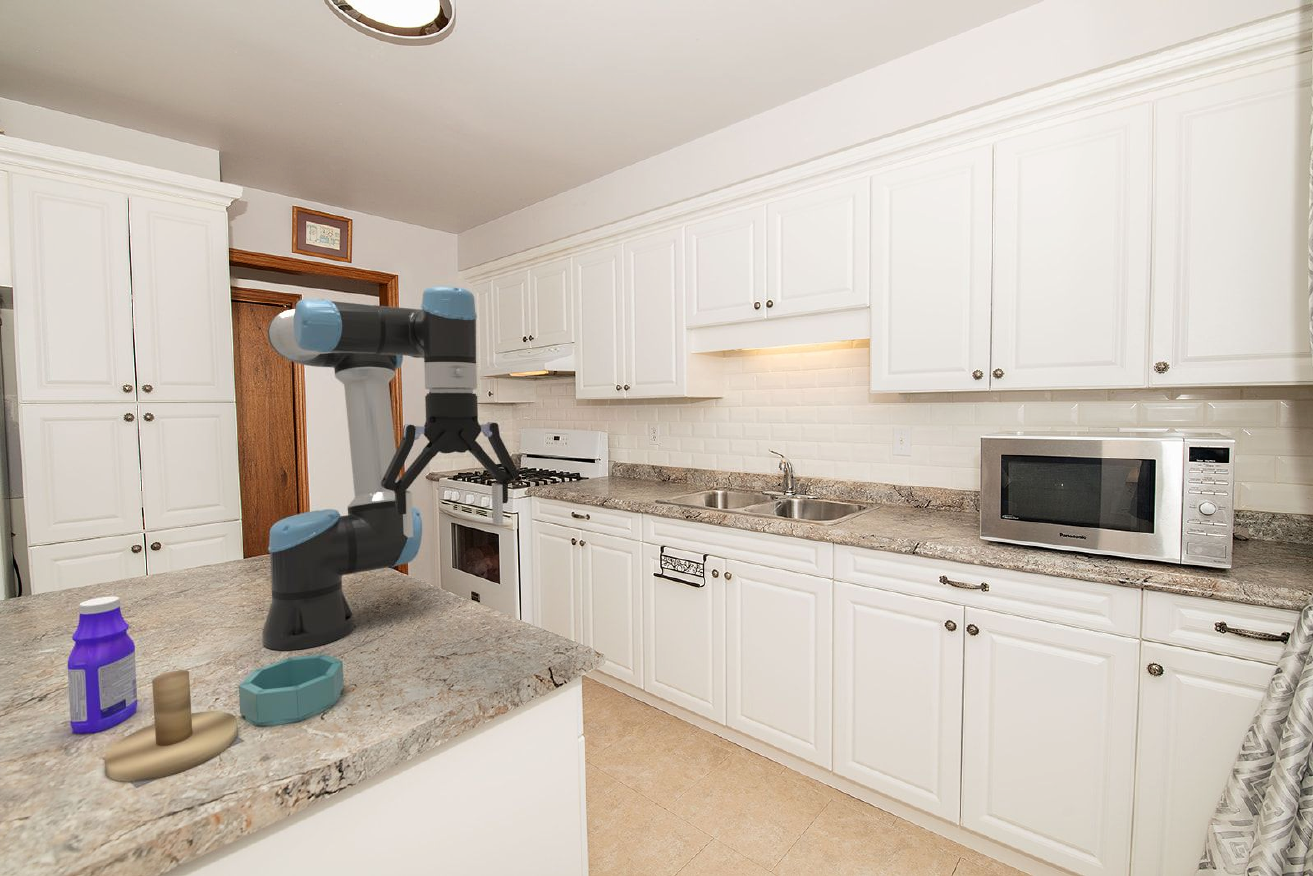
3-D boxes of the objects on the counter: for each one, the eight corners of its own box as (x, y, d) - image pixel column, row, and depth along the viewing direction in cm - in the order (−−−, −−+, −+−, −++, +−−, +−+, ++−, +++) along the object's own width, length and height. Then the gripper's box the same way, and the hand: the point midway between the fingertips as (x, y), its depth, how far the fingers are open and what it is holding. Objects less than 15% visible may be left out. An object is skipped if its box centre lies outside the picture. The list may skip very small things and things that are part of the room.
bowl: (228, 713, 84) (226, 679, 84) (313, 680, 95) (312, 649, 94) (271, 737, 78) (269, 700, 78) (357, 698, 88) (356, 666, 88)
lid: (89, 760, 73) (83, 685, 72) (211, 712, 84) (207, 647, 83) (129, 795, 66) (123, 713, 66) (256, 739, 77) (253, 668, 77)
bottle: (106, 710, 86) (98, 593, 85) (148, 708, 86) (141, 591, 85) (60, 739, 78) (51, 610, 77) (106, 736, 79) (98, 608, 78)
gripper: (365, 390, 80) (370, 546, 81) (538, 391, 94) (540, 523, 95) (356, 391, 86) (361, 535, 87) (520, 392, 100) (522, 516, 101)
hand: (455, 529), depth 91 cm, fingers open, 13 cm apart
